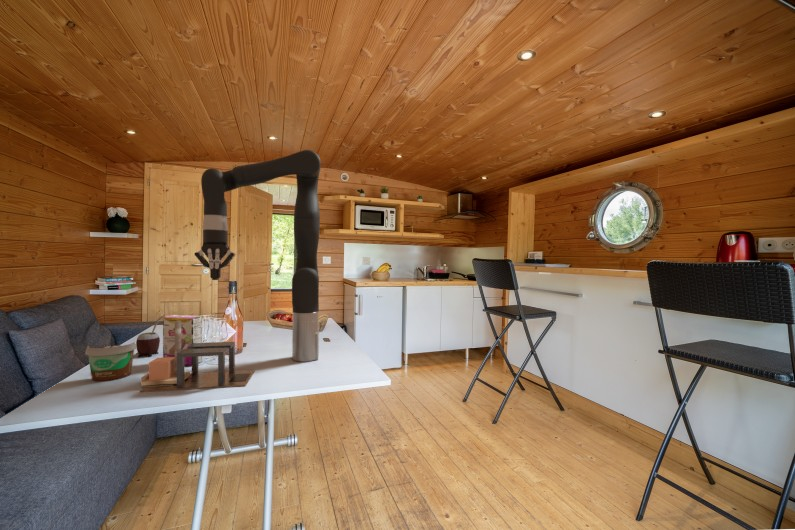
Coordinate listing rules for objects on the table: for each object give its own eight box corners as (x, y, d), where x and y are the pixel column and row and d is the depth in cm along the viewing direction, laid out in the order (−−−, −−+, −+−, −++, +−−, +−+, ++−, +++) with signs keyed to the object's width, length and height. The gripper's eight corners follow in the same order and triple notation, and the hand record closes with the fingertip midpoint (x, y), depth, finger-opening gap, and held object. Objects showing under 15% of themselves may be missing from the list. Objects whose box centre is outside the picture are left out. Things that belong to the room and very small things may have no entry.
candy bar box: (161, 365, 117) (161, 316, 117) (172, 360, 122) (172, 314, 122) (192, 366, 116) (192, 317, 116) (202, 362, 121) (202, 315, 121)
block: (176, 373, 104) (176, 356, 104) (168, 379, 99) (168, 361, 99) (157, 374, 103) (157, 357, 103) (149, 380, 98) (148, 362, 98)
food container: (78, 385, 98) (78, 350, 98) (86, 379, 104) (85, 345, 103) (132, 379, 104) (132, 346, 104) (136, 373, 109) (136, 341, 109)
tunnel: (255, 371, 112) (255, 340, 112) (245, 386, 99) (245, 351, 99) (162, 375, 107) (162, 343, 107) (139, 392, 94) (139, 355, 94)
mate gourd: (134, 355, 128) (134, 315, 128) (159, 351, 134) (159, 312, 134) (139, 359, 124) (139, 317, 123) (165, 354, 130) (165, 314, 129)
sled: (190, 375, 106) (190, 318, 105) (180, 383, 99) (180, 323, 98) (153, 376, 104) (153, 319, 103) (141, 385, 97) (140, 324, 96)
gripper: (238, 230, 123) (238, 279, 124) (198, 229, 121) (198, 279, 121) (233, 229, 116) (233, 280, 116) (189, 227, 114) (189, 280, 114)
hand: (215, 279), depth 119 cm, fingers closed
